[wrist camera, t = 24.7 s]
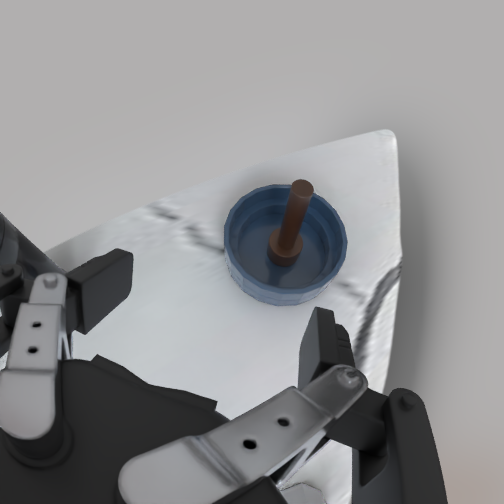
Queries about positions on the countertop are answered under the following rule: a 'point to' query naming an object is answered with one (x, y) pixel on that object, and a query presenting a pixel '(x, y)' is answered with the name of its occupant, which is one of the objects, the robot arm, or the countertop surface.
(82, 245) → the countertop surface
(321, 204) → the mixing bowl
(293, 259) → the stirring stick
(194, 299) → the countertop surface
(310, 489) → the flask
